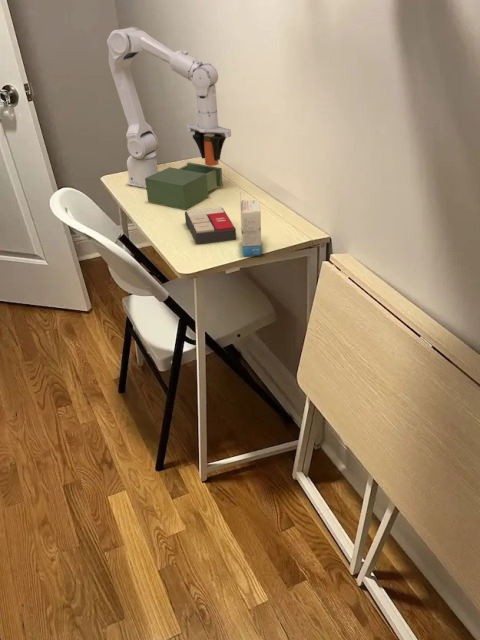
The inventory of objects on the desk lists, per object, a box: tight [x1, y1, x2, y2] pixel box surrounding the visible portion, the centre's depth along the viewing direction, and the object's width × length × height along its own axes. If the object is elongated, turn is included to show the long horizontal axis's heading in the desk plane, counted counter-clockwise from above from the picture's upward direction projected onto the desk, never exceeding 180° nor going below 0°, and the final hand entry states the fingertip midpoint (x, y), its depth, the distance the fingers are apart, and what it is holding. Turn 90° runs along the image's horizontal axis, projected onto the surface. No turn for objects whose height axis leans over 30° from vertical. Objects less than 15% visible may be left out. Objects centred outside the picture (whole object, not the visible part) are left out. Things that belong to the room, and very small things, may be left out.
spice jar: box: [203, 134, 219, 167], centre depth 175 cm, size 4×4×8 cm
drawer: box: [178, 162, 224, 193], centre depth 183 cm, size 15×13×6 cm
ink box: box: [239, 188, 262, 257], centre depth 143 cm, size 9×5×15 cm, turn 5°
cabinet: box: [145, 166, 209, 211], centre depth 175 cm, size 12×14×7 cm
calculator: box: [184, 206, 237, 245], centre depth 156 cm, size 11×4×15 cm
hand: (210, 158), depth 176 cm, fingers closed on spice jar, 4 cm apart
